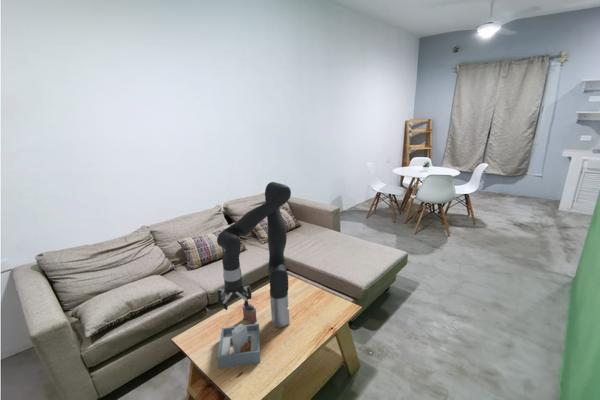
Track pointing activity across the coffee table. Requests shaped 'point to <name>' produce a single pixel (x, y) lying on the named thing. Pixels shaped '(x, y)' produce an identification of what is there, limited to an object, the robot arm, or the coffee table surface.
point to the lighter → (249, 313)
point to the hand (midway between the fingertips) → (236, 307)
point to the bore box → (239, 358)
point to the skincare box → (240, 338)
